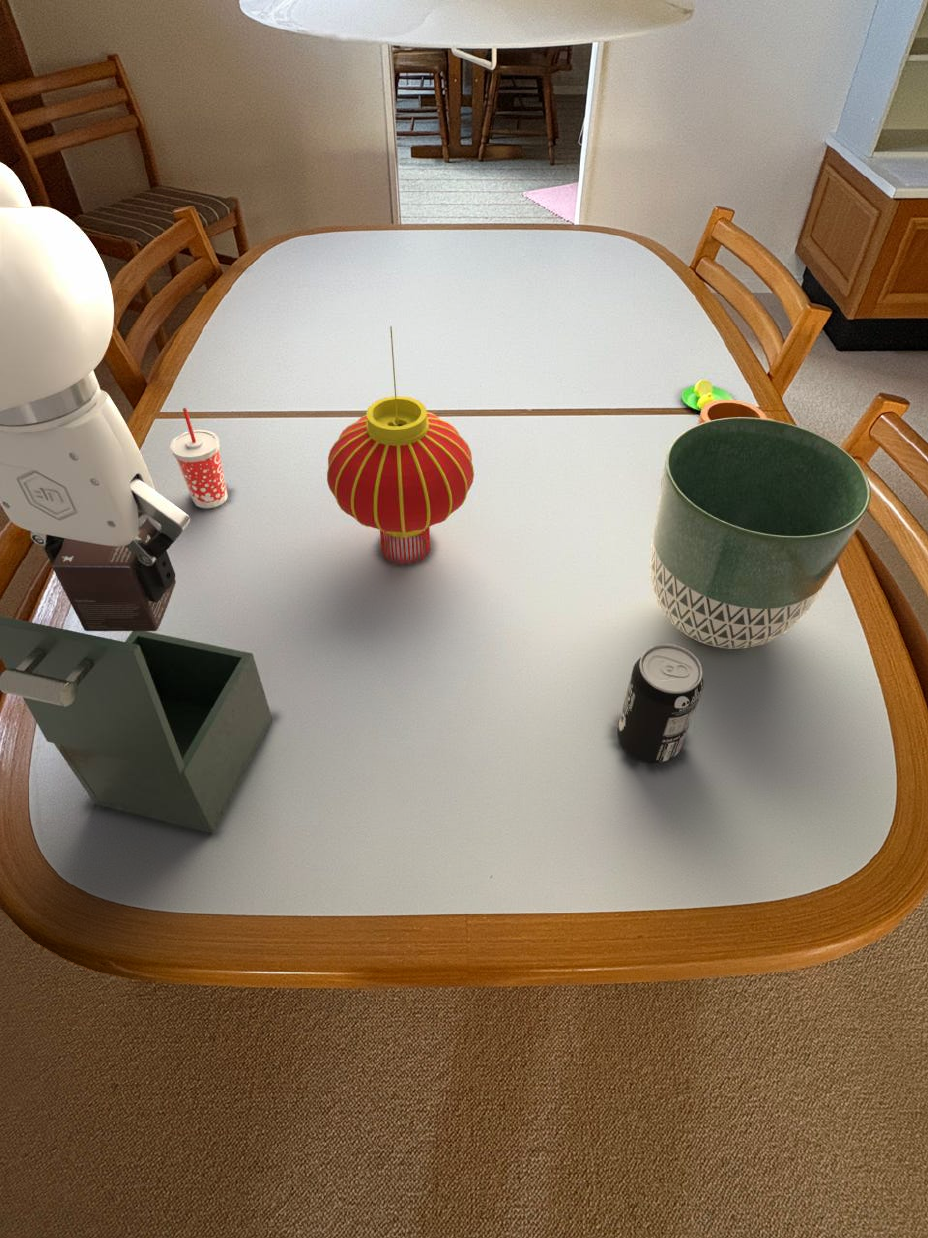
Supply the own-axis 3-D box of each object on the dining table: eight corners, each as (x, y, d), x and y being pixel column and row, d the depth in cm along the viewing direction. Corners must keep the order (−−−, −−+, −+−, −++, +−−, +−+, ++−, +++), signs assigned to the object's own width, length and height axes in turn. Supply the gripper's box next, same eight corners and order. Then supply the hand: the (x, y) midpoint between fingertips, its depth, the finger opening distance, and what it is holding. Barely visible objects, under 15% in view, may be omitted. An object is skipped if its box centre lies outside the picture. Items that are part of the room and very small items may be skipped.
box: (157, 634, 63) (129, 568, 58) (83, 633, 63) (48, 566, 58) (177, 581, 67) (153, 514, 62) (107, 580, 67) (77, 513, 62)
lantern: (486, 517, 105) (493, 299, 83) (450, 607, 94) (447, 382, 72) (367, 495, 108) (343, 279, 86) (318, 580, 97) (276, 356, 75)
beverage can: (616, 711, 84) (634, 636, 75) (678, 718, 83) (705, 644, 74) (615, 763, 79) (635, 691, 70) (681, 771, 79) (710, 699, 70)
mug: (774, 497, 108) (794, 442, 102) (685, 485, 110) (700, 430, 104) (771, 459, 114) (790, 405, 108) (687, 448, 116) (701, 394, 109)
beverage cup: (218, 516, 105) (192, 426, 95) (179, 506, 107) (149, 417, 96) (241, 489, 109) (219, 400, 99) (203, 480, 111) (176, 392, 100)
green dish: (670, 394, 126) (674, 379, 124) (711, 383, 128) (715, 368, 126) (700, 420, 121) (705, 404, 119) (742, 408, 123) (747, 392, 121)
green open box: (164, 695, 85) (134, 628, 77) (272, 719, 83) (252, 653, 75) (94, 804, 76) (51, 741, 68) (213, 834, 74) (184, 772, 66)
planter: (673, 543, 102) (713, 396, 86) (822, 606, 94) (895, 458, 79) (601, 634, 91) (631, 486, 75) (763, 714, 83) (834, 567, 68)
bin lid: (-14, 612, 58) (-61, 657, 55) (139, 644, 56) (100, 693, 53) (52, 734, 68) (16, 779, 65) (184, 766, 66) (155, 814, 63)
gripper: (-129, 393, 49) (-4, 594, 62) (121, 433, 46) (197, 635, 59) (-47, 335, 54) (52, 533, 67) (183, 369, 51) (240, 568, 64)
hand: (119, 580), depth 63 cm, fingers closed on box, 6 cm apart
